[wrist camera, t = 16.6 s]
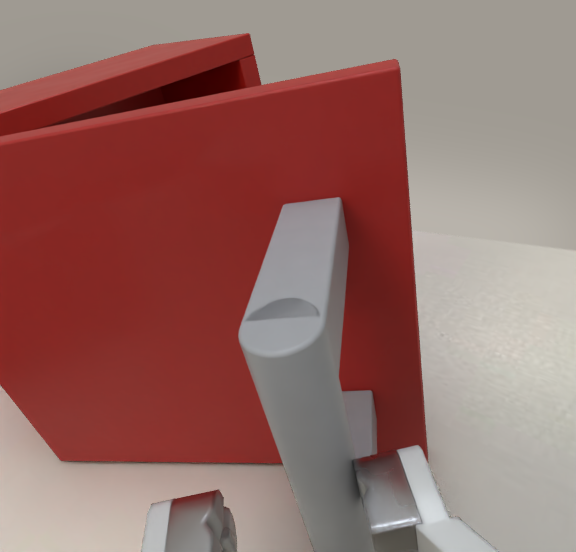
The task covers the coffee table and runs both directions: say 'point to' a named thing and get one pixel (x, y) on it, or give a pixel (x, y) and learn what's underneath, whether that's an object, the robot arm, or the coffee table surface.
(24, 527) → the coffee table surface
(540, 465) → the coffee table surface
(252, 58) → the cabinet
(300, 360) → the red cabinet door
